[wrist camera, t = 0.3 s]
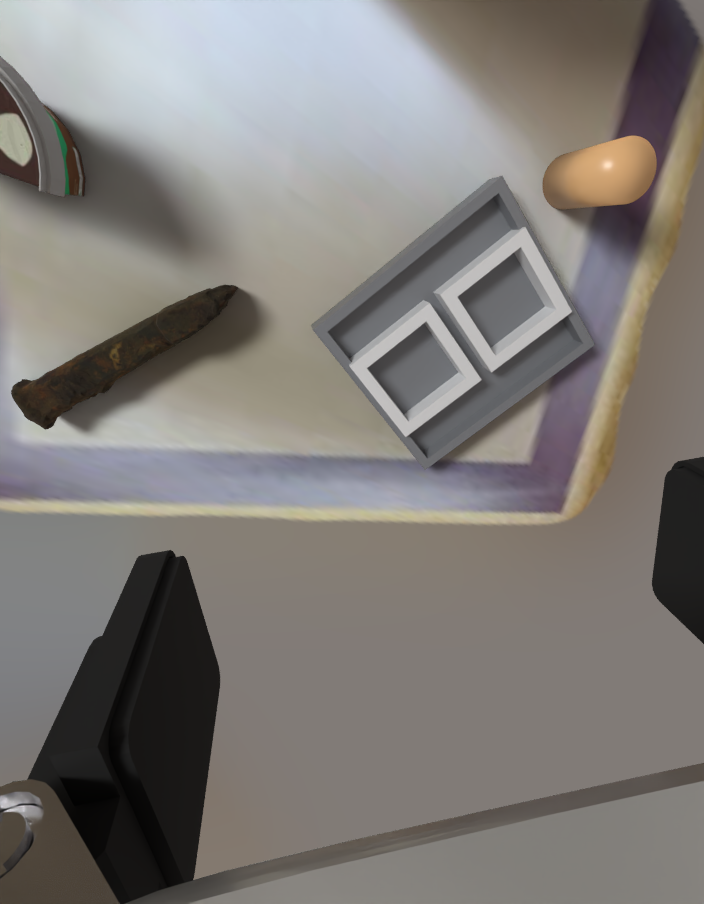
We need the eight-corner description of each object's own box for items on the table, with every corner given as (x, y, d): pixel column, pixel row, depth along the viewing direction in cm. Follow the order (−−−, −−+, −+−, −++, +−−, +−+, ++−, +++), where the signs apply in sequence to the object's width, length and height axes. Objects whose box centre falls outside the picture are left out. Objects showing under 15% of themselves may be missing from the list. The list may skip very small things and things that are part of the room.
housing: (311, 325, 43) (313, 331, 41) (489, 179, 41) (504, 175, 38) (418, 459, 49) (426, 472, 47) (579, 339, 47) (598, 345, 44)
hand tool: (56, 419, 44) (33, 440, 40) (24, 378, 42) (-4, 395, 38) (254, 317, 43) (252, 327, 39) (229, 271, 41) (224, 276, 37)
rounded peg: (533, 176, 41) (588, 163, 34) (576, 141, 41) (642, 121, 33) (556, 220, 43) (614, 217, 35) (598, 187, 42) (665, 177, 35)
